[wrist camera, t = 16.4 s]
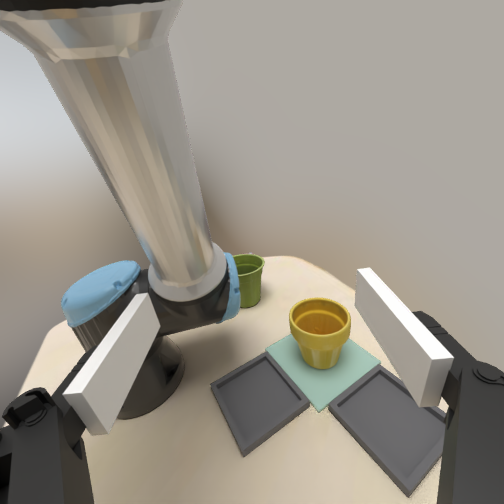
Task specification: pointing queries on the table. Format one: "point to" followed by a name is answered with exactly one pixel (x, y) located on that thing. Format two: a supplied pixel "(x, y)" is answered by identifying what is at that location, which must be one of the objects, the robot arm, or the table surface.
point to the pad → (322, 370)
